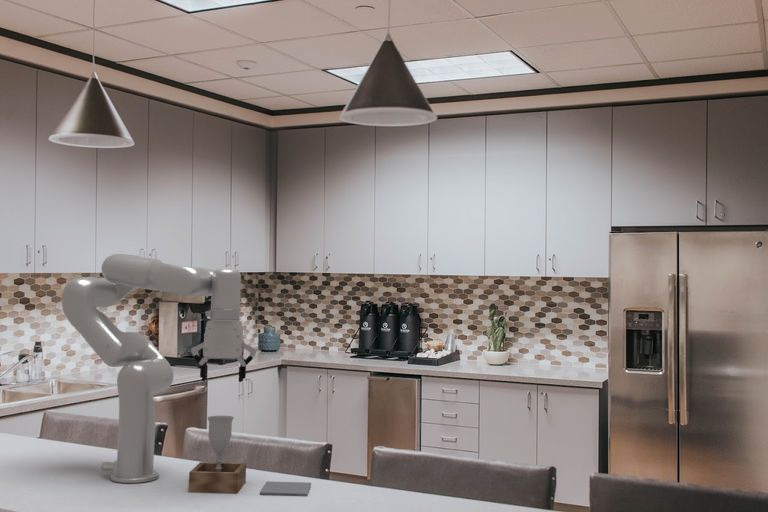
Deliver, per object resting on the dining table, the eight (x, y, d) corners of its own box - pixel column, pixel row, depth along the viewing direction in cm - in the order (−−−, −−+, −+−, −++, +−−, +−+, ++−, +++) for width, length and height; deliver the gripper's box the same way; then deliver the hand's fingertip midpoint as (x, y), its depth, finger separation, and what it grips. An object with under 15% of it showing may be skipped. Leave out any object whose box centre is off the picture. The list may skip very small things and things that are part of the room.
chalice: (224, 491, 198) (227, 420, 199) (199, 489, 199) (202, 418, 200) (235, 484, 205) (238, 416, 206) (211, 482, 206) (214, 414, 207)
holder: (188, 492, 196) (189, 472, 196) (199, 480, 208) (200, 462, 208) (237, 493, 196) (238, 473, 196) (245, 482, 208) (246, 463, 208)
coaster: (259, 494, 195) (259, 492, 195) (266, 483, 207) (266, 481, 207) (306, 496, 195) (307, 493, 195) (311, 484, 207) (311, 482, 207)
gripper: (189, 315, 201) (186, 381, 200) (255, 317, 201) (253, 383, 200) (195, 314, 208) (193, 378, 207) (259, 316, 208) (257, 380, 207)
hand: (222, 380), depth 203 cm, fingers open, 9 cm apart
